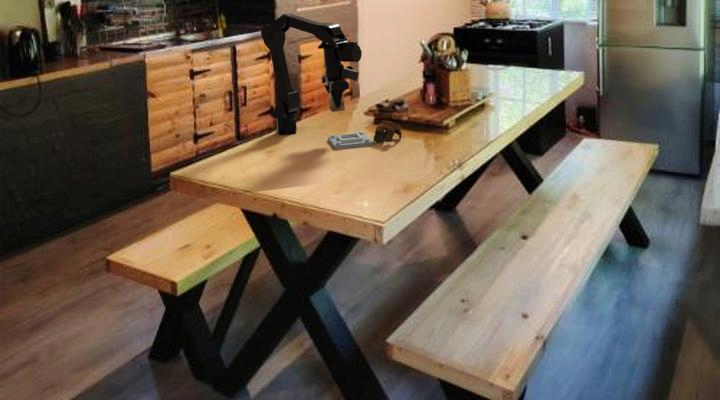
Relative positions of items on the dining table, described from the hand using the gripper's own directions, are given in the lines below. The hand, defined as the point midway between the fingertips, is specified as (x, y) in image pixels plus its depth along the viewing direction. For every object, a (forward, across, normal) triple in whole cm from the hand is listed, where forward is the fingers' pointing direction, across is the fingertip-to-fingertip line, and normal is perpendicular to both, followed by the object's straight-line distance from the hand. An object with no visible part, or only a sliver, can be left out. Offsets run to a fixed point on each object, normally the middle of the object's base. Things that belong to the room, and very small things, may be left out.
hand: (336, 106), depth 262 cm
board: (+12, -6, -2) cm, 14 cm away
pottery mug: (+13, -10, -15) cm, 22 cm away
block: (+1, 0, 0) cm, 1 cm away
